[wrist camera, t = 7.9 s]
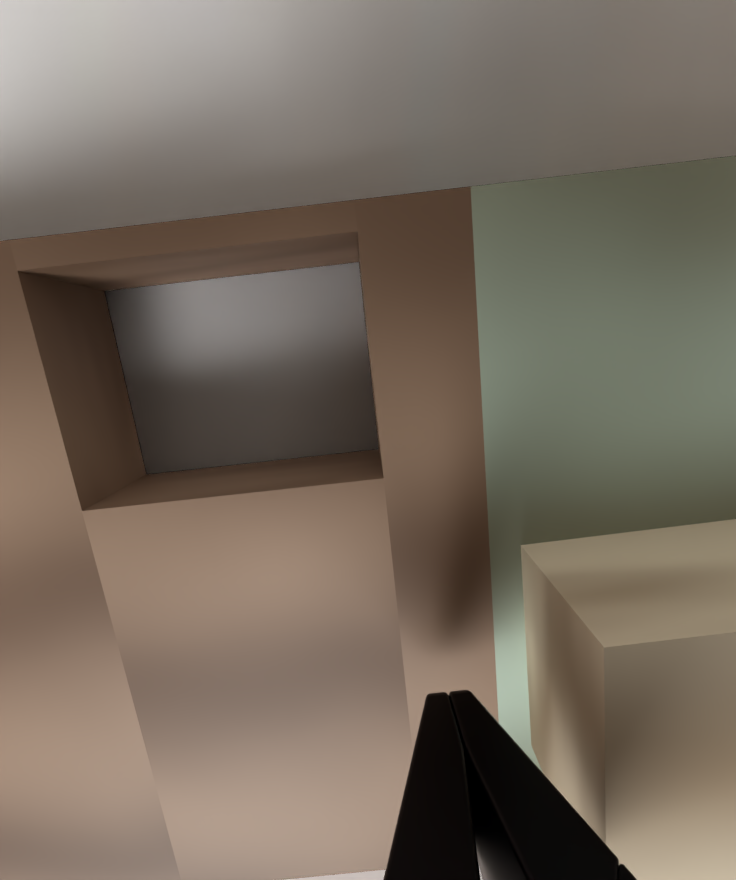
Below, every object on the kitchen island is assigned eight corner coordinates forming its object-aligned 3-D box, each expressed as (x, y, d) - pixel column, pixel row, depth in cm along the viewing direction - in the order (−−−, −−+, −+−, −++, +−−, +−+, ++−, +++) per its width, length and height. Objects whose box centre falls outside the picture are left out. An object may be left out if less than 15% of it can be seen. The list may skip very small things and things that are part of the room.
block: (750, 720, 9) (925, 886, 7) (531, 745, 10) (606, 921, 7) (766, 515, 8) (983, 603, 5) (520, 545, 8) (603, 647, 6)
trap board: (741, 733, 13) (833, 825, 10) (-71, 815, 13) (-172, 923, 10) (793, 188, 9) (943, 131, 7) (-282, 311, 10) (-497, 298, 7)
